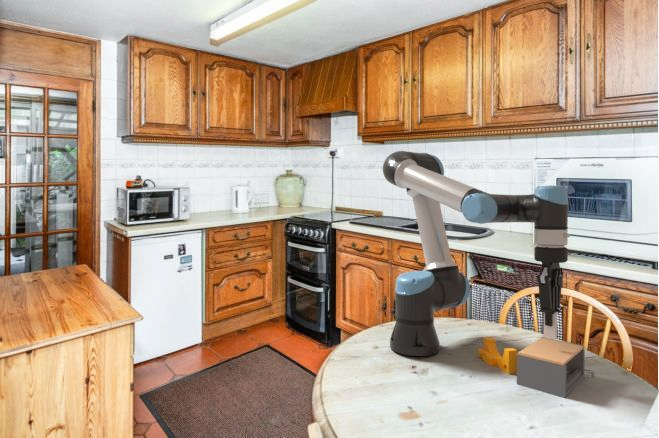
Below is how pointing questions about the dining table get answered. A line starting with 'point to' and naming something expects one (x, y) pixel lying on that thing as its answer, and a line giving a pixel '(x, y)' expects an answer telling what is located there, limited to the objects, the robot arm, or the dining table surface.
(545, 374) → the housing
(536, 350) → the tan rectangular panel
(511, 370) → the pipe clamp
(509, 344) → the dining table surface
